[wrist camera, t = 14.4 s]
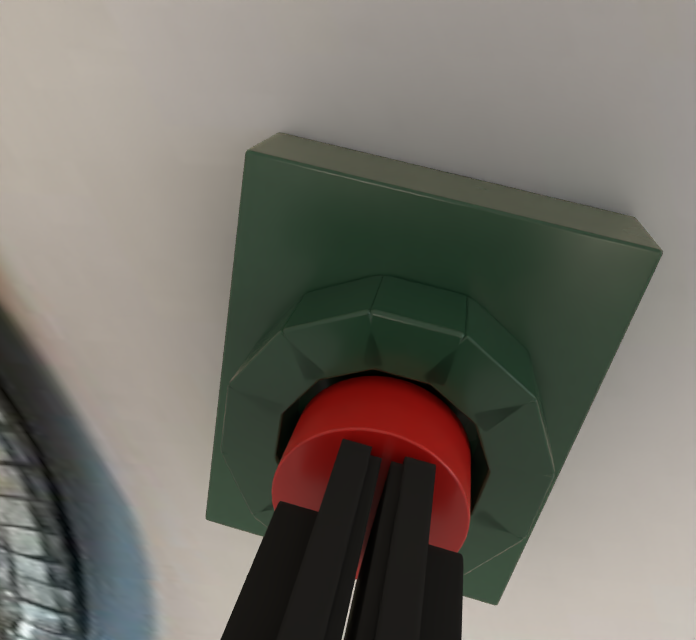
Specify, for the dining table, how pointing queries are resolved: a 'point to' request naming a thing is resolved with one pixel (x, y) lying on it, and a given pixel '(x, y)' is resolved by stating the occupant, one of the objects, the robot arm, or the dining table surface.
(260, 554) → the robot arm
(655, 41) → the dining table surface
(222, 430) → the button box
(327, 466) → the button
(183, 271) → the dining table surface
